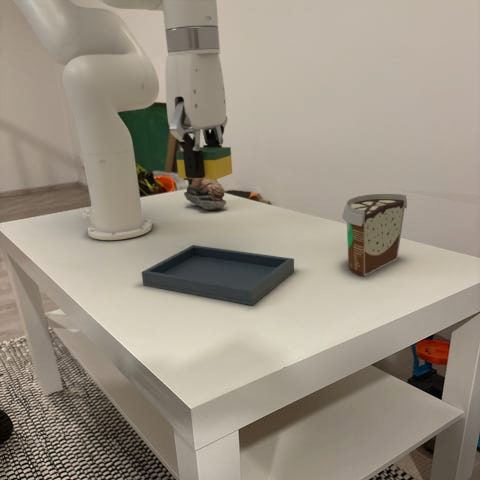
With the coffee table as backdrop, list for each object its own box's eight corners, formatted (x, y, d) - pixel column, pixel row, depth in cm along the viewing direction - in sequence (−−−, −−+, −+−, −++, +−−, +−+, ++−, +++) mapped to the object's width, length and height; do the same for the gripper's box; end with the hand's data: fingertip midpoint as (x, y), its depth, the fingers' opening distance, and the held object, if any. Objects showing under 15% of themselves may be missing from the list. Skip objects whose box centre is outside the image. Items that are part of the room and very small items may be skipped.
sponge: (178, 178, 80) (175, 151, 79) (195, 172, 84) (193, 147, 83) (216, 179, 77) (214, 151, 76) (232, 173, 81) (230, 147, 79)
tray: (143, 285, 76) (141, 272, 75) (193, 256, 87) (192, 244, 86) (252, 305, 68) (251, 291, 67) (294, 271, 78) (294, 258, 77)
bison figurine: (233, 208, 115) (230, 162, 110) (207, 215, 111) (203, 167, 106) (202, 200, 123) (198, 157, 119) (177, 206, 119) (172, 162, 115)
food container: (368, 249, 86) (372, 189, 81) (402, 257, 82) (408, 194, 77) (324, 270, 78) (325, 205, 74) (358, 279, 74) (362, 211, 70)
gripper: (202, 47, 81) (212, 164, 89) (135, 45, 68) (153, 184, 76) (243, 42, 78) (250, 165, 86) (181, 40, 64) (196, 186, 72)
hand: (205, 172), depth 81 cm, fingers closed on sponge, 5 cm apart
